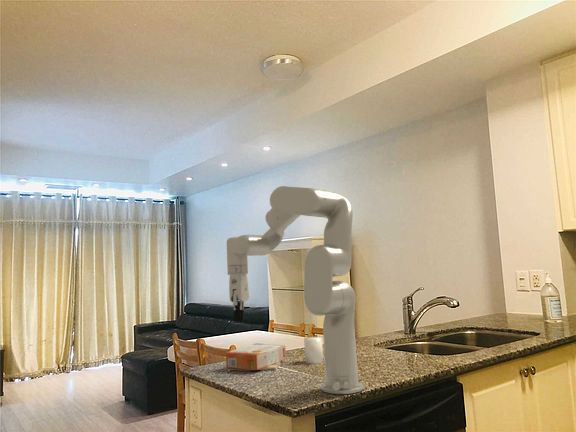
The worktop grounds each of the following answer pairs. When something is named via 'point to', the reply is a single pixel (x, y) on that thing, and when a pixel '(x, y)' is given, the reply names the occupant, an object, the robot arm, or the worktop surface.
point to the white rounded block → (313, 350)
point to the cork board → (270, 367)
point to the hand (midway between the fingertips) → (239, 320)
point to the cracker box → (255, 356)
